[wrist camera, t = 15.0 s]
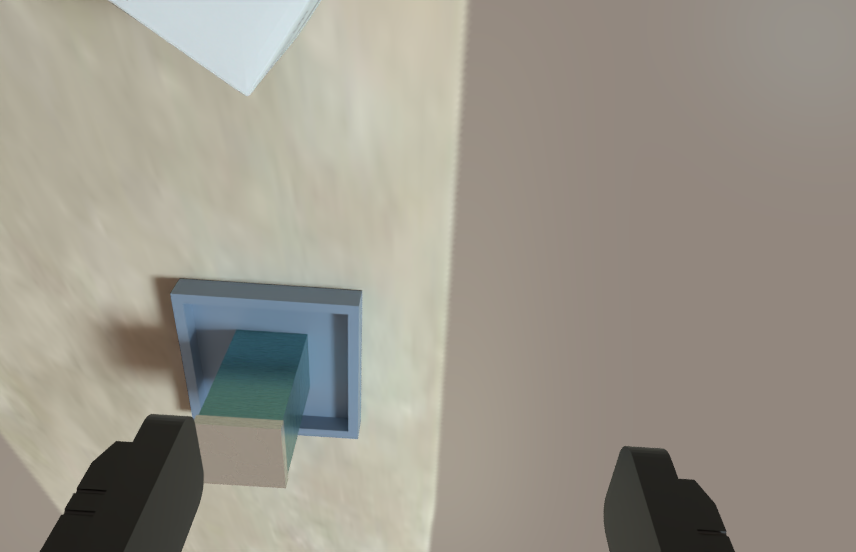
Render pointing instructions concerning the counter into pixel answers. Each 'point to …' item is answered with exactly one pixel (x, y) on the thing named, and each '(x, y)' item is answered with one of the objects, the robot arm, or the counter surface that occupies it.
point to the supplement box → (226, 32)
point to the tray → (277, 312)
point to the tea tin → (255, 409)
